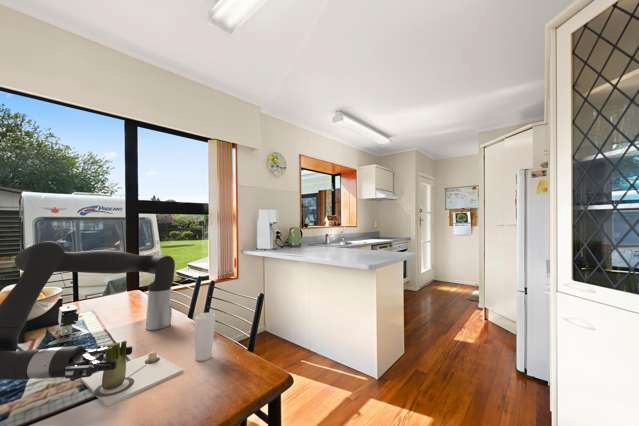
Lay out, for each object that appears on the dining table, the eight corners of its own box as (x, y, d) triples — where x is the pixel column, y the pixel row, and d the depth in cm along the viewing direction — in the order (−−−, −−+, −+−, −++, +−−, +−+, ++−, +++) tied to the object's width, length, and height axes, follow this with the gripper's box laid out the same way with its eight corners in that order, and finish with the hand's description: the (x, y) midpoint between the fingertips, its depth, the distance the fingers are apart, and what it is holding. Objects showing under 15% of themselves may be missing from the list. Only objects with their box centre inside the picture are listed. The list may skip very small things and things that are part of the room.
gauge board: (153, 354, 94) (153, 345, 94) (183, 372, 83) (183, 361, 83) (78, 381, 77) (79, 370, 77) (104, 408, 66) (105, 394, 66)
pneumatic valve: (59, 339, 105) (62, 309, 105) (56, 331, 112) (59, 303, 113) (78, 335, 109) (80, 306, 110) (74, 328, 116) (76, 301, 117)
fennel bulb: (124, 378, 77) (126, 337, 78) (128, 385, 74) (130, 343, 75) (99, 387, 73) (101, 344, 73) (102, 395, 70) (105, 350, 70)
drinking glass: (217, 355, 94) (219, 313, 95) (203, 364, 88) (206, 319, 89) (202, 352, 97) (204, 311, 98) (188, 360, 90) (190, 317, 91)
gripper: (37, 361, 64) (111, 355, 68) (77, 337, 78) (137, 334, 82) (34, 392, 64) (109, 385, 67) (75, 362, 78) (135, 358, 81)
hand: (124, 357), depth 75 cm, fingers open, 8 cm apart
